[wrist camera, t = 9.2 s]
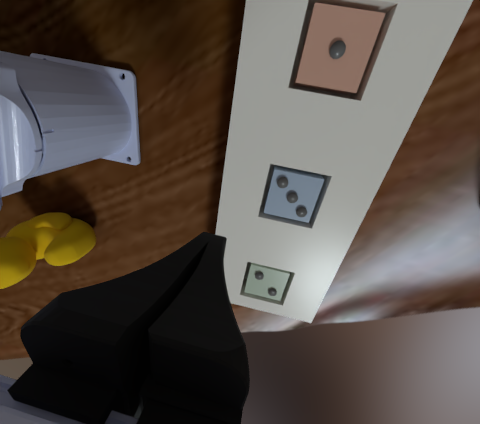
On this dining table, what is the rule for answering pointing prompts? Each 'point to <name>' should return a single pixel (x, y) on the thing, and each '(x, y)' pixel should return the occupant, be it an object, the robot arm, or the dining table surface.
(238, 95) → the button panel
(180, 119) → the dining table surface
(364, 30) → the button one
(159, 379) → the robot arm
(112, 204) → the dining table surface
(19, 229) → the duckling
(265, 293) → the button two
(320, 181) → the button three
